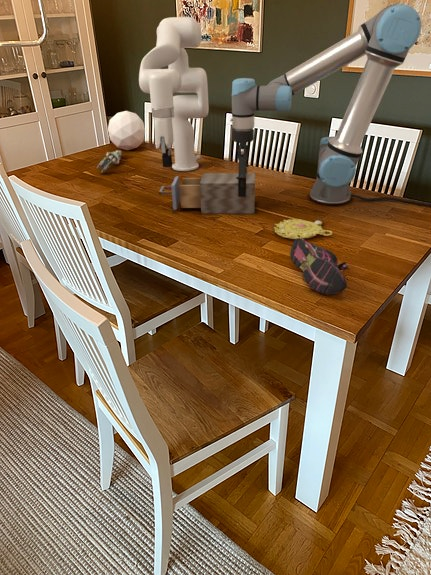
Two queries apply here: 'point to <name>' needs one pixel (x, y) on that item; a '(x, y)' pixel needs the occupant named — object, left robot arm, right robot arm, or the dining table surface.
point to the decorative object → (300, 229)
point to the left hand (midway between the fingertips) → (167, 166)
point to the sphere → (126, 130)
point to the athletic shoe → (318, 267)
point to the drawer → (185, 192)
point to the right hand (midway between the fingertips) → (242, 190)
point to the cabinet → (226, 193)
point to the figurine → (110, 160)
